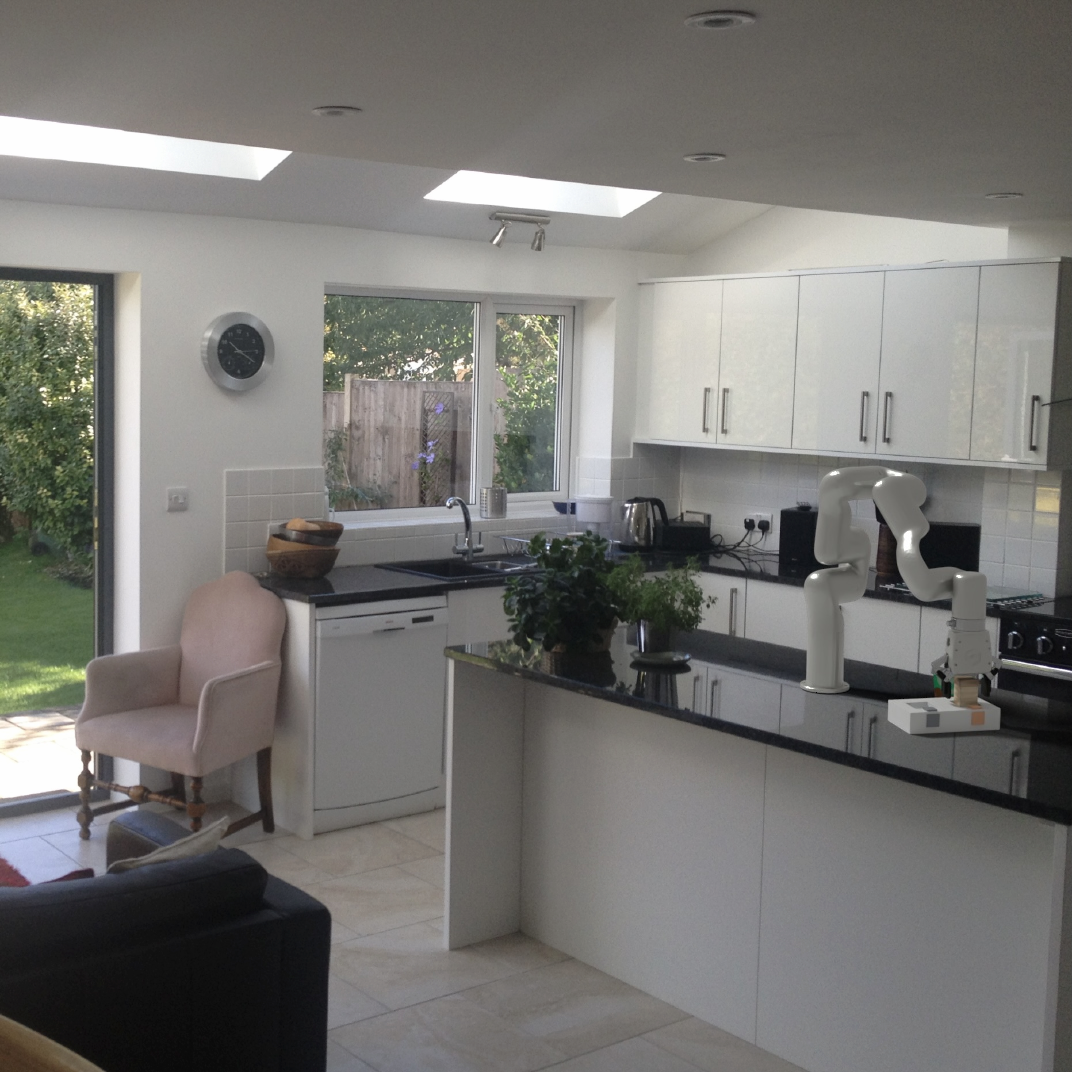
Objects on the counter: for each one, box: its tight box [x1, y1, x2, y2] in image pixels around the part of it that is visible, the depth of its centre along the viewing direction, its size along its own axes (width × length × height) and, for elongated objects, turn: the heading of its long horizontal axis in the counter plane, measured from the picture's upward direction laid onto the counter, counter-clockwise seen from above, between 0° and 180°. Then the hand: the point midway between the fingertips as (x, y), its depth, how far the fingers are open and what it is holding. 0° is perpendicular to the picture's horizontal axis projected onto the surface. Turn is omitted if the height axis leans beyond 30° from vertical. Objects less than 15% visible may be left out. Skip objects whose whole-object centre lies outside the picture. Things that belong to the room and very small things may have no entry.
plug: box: [954, 676, 980, 707], centre depth 299 cm, size 4×4×10 cm
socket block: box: [887, 697, 1001, 735], centre depth 298 cm, size 12×22×5 cm, turn 99°
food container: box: [930, 666, 979, 698], centre depth 316 cm, size 12×6×10 cm, turn 105°
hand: (965, 696), depth 299 cm, fingers open, 9 cm apart
